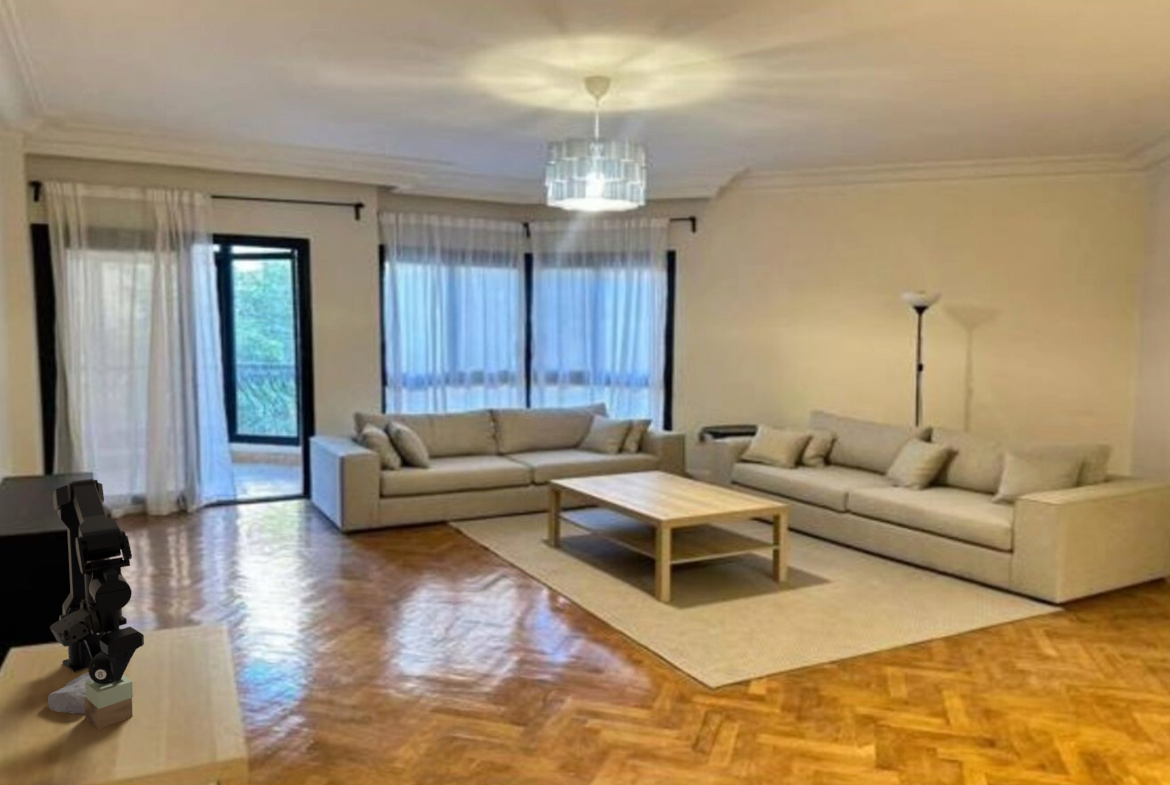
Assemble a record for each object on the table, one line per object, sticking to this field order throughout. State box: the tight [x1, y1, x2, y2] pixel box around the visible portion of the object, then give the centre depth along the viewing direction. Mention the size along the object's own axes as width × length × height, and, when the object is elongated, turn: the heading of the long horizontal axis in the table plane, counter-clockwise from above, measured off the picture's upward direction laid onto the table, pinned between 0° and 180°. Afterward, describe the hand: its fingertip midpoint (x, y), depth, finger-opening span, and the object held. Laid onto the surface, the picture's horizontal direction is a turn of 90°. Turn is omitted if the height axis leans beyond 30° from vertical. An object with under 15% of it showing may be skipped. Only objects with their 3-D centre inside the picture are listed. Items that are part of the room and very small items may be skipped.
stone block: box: [47, 672, 127, 715], centre depth 164 cm, size 12×5×10 cm
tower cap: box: [85, 673, 134, 709], centre depth 156 cm, size 6×6×3 cm
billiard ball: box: [88, 653, 115, 684], centre depth 155 cm, size 6×6×6 cm
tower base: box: [84, 697, 134, 730], centre depth 157 cm, size 6×6×4 cm
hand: (107, 672), depth 156 cm, fingers open, 8 cm apart
